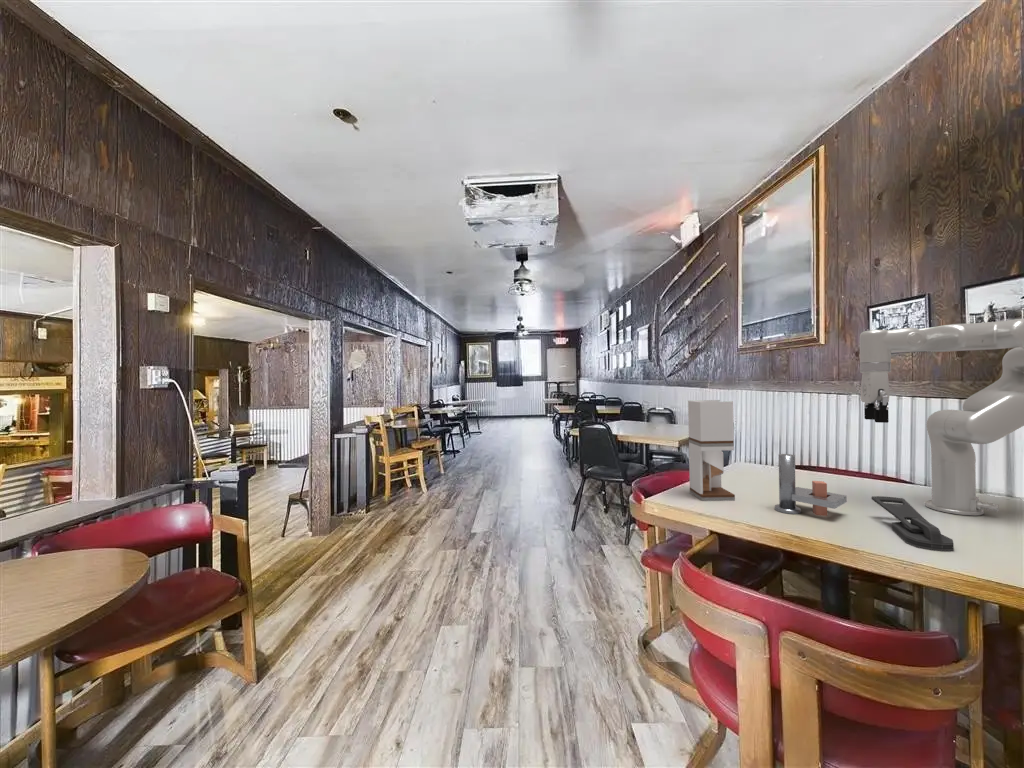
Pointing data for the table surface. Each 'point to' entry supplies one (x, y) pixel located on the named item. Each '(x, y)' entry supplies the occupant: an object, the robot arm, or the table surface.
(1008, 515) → the table surface
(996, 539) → the table surface
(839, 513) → the table surface
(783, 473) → the rosette post
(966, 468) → the robot arm
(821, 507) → the reddish brown rectangular block
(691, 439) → the white tower model
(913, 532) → the zipper pull
